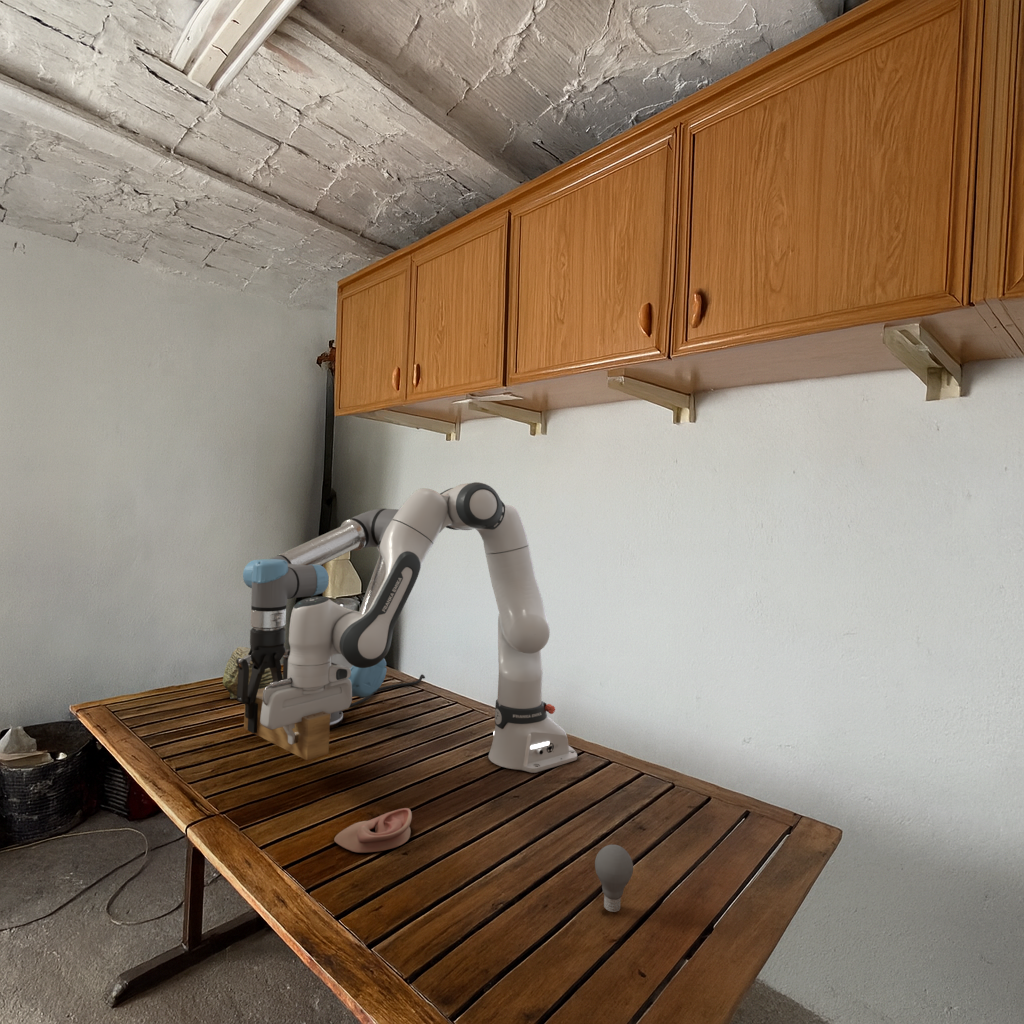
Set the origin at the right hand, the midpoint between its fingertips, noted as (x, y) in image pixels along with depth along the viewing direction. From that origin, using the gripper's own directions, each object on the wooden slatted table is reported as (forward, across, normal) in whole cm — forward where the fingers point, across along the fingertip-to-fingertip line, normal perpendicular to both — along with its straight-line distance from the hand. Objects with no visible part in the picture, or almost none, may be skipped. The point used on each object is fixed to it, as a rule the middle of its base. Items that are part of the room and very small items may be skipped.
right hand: (306, 738), depth 135 cm
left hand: (+2, 0, +17) cm, 17 cm away
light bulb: (+12, +11, -68) cm, 70 cm away
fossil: (+12, +26, +68) cm, 74 cm away
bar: (+3, 0, +8) cm, 9 cm away
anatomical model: (+12, -1, -24) cm, 27 cm away
